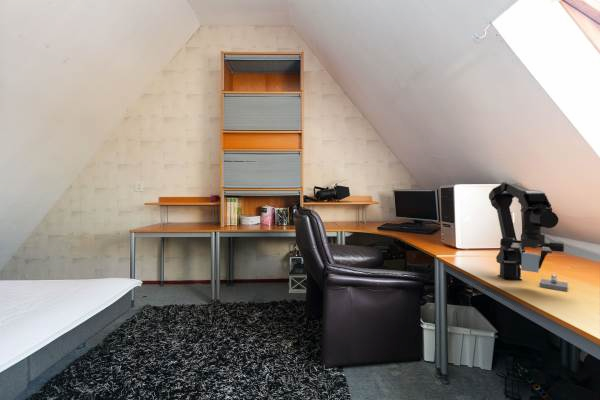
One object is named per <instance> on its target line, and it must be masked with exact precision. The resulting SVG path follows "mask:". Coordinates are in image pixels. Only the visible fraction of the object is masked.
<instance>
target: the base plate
mask: <svg viewBox="0 0 600 400" xmlns="http://www.w3.org/2000/svg"><path fill="white" fill-rule="evenodd" d="M550 277H551V279H546V278H541V279H540V281H539V288H544V289H548V290H555V291H563V292H568V287H569V286H568V285H569V282H565V281H558V280H557V279H558V277H557V274H551V276H550Z"/></svg>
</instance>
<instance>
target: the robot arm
mask: <svg viewBox="0 0 600 400" xmlns="http://www.w3.org/2000/svg"><path fill="white" fill-rule="evenodd" d="M514 198H516V199H518V201H517V202H518V203H519V205H521V206H522V208H521V209H520V212H521V213H522V229H521V234H520V239H519V240H518V239H517V235H516V230H515V225H514V223H513V218H512V217H513V216H512V212H511V208H510V207H511V206H512V203H513V199H514ZM488 199H489V202H490V205H491V206H492V207H493V208H494V209H495V210H496V213H497V218H498V223H499V227H500V232H501V238H500V244H499V245H500V247H499V252H498V253H497V254H496V257H495V259H496V263H498V264H499V274H497V276H498V277H499V278H501V279H503V280H505V281H523V279H522V270H521V264H522V253H523V252H526V250H525V249H526V248H532V249H537V248H541V252H540V261H539V270H540V269H541V268H542V265H543V263H544V260H545V259H546V257H547V256H548V254H553V252H561V253H564V252H565V243H564V242H563V241H553V240H550V241H549V242H546V235H545V234H542V228H545V229H553V228H556V226H557V225H558V224H559V217H558V215H557V213H555V212H553V208H552V204H551V202H550V201H549V199H548V197H547V195H546V193H545V191H543V190H535V189H528V188H526V187H524V186H523V185H520V184H518V183H517V182H515V181H503V182H501V184H500V185H498V186H495V187H494V188H492V190H490V192H489V193H488Z"/></svg>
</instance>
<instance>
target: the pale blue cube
mask: <svg viewBox="0 0 600 400" xmlns="http://www.w3.org/2000/svg"><path fill="white" fill-rule="evenodd" d="M540 256H541V253H534V252H526V251H525V252H523V253H522V264H521V265H520V268H521V271H524V272H531V273H539V271H540V269H539V261H540Z"/></svg>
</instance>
